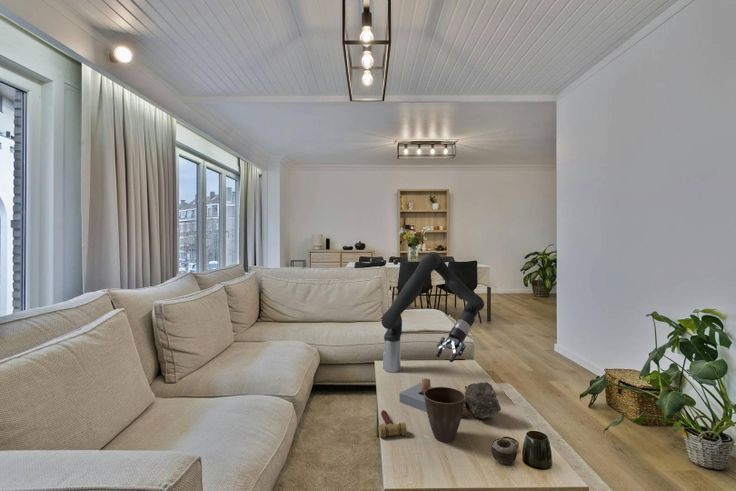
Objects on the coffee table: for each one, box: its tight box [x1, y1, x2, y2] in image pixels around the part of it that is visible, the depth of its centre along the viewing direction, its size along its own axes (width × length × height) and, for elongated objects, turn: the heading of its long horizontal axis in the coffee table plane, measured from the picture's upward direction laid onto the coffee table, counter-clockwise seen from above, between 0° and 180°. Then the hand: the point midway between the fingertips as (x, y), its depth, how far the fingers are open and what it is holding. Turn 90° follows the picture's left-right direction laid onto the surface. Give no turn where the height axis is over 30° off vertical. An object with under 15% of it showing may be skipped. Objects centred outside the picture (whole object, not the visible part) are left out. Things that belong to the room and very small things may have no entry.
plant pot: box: [424, 386, 465, 443], centre depth 137 cm, size 15×15×16 cm
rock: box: [461, 381, 502, 420], centre depth 152 cm, size 18×14×15 cm
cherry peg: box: [421, 378, 431, 395], centre depth 166 cm, size 4×4×10 cm
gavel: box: [378, 409, 408, 439], centre depth 146 cm, size 21×5×10 cm
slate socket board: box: [399, 382, 433, 413], centre depth 166 cm, size 18×16×4 cm
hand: (443, 358), depth 173 cm, fingers open, 8 cm apart
